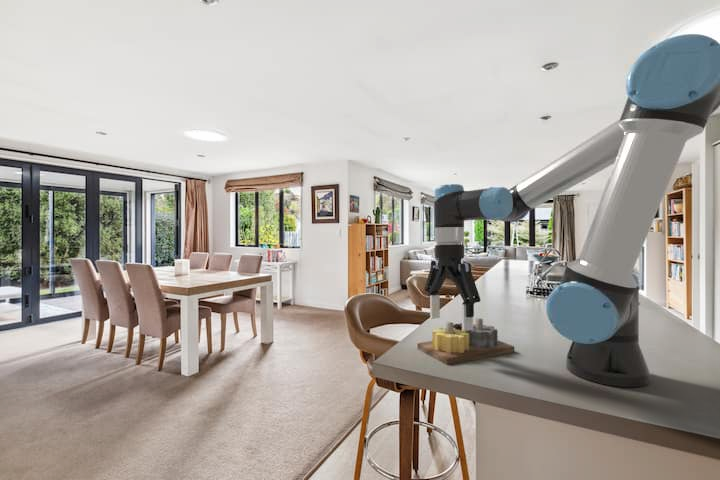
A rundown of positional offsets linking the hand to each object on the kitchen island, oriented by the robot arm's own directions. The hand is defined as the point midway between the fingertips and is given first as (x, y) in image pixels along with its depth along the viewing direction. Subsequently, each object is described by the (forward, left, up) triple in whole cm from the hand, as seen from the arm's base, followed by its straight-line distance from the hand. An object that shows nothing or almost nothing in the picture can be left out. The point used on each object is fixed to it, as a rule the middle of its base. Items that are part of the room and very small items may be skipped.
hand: (450, 323), depth 92 cm
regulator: (+11, -16, -8) cm, 21 cm away
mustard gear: (0, 0, -6) cm, 6 cm away
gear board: (0, -5, -8) cm, 9 cm away
